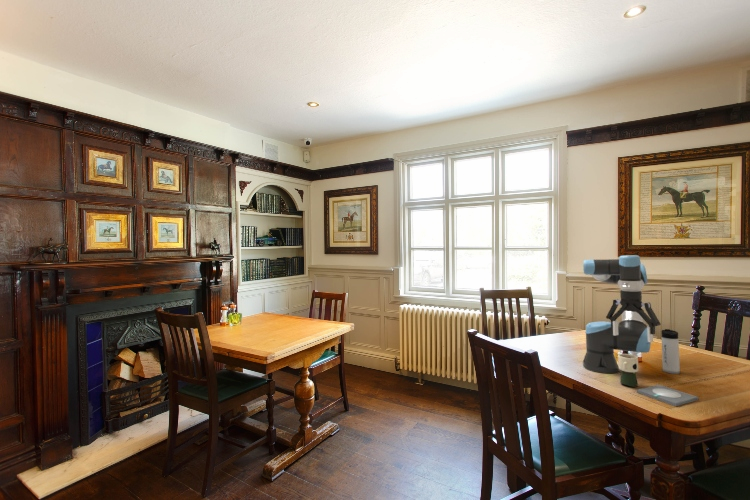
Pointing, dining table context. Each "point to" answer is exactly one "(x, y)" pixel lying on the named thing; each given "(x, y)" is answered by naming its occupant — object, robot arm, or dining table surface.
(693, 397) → the charging pad
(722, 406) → the dining table surface
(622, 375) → the character mug
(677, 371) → the travel mug
